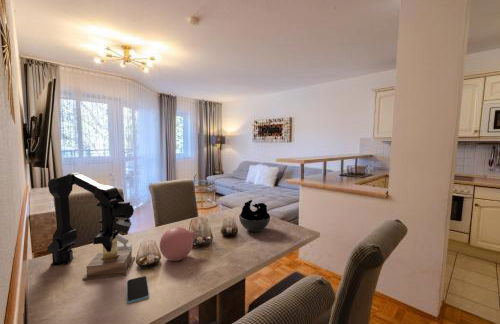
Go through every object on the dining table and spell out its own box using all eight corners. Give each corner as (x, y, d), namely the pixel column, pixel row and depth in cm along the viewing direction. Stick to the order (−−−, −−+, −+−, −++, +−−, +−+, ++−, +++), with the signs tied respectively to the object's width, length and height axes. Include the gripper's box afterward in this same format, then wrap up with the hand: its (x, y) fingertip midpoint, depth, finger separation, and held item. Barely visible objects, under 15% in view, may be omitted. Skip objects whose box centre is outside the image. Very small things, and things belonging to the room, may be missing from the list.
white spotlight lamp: (118, 228, 123) (134, 230, 121) (119, 245, 124) (135, 247, 122) (105, 234, 115) (122, 236, 113) (106, 253, 116) (123, 255, 114)
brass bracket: (116, 259, 101) (115, 236, 100) (103, 261, 100) (102, 237, 99) (117, 257, 103) (116, 235, 102) (105, 258, 102) (104, 236, 101)
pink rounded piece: (206, 257, 112) (206, 227, 111) (165, 270, 100) (164, 237, 99) (194, 246, 125) (194, 218, 123) (156, 256, 113) (155, 226, 112)
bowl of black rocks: (271, 237, 138) (271, 207, 136) (238, 236, 138) (238, 206, 137) (268, 225, 158) (269, 198, 156) (239, 224, 158) (240, 198, 157)
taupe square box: (125, 275, 96) (125, 264, 96) (82, 280, 93) (81, 268, 92) (134, 258, 111) (134, 248, 110) (97, 261, 107) (97, 251, 107)
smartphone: (146, 275, 96) (149, 295, 83) (146, 278, 96) (149, 298, 83) (126, 280, 93) (126, 302, 79) (127, 282, 93) (126, 305, 80)
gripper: (122, 222, 93) (123, 259, 94) (134, 209, 111) (135, 240, 112) (91, 224, 90) (93, 262, 91) (108, 210, 108) (110, 242, 109)
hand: (110, 250), depth 101 cm, fingers closed on brass bracket, 2 cm apart
